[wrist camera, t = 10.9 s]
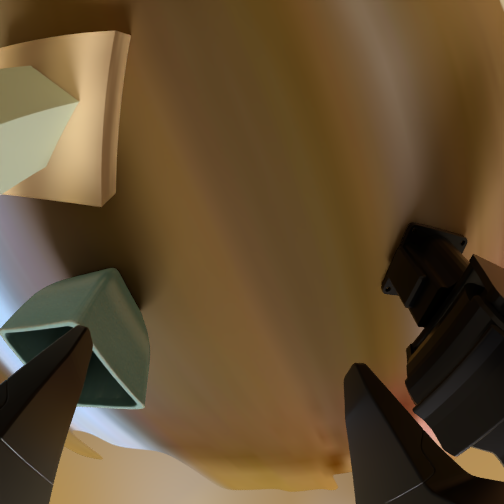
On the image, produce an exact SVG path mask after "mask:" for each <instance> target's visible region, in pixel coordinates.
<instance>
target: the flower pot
mask: <svg viewBox="0 0 504 504" xmlns="http://www.w3.org/2000/svg"><path fill="white" fill-rule="evenodd" d="M77 325H82V326H86V327H88V328H89V330H90V333H91V338H92V342H93V350H92V354H91V358H90V361H89V365H88V369H87V373H86V378H85V382H84V386H83V389H82V392H81V395H80V398H79V400H78V403H77V407H78V406H79V407H97V408H116V409H141V408H145V398H146V388H147V380H148V371H149V362H150V345H149V338H148V333H147V329H146V326H145V323H144V320H143V317H142V314H141V312H140V310H139V308H138V306H137V304H136V303H135V301H134V299H133V297H132V296H131V294H130V292H129V290H128V288H127V286H126V284H125V283H124V281H123V279H122V277H121V275H120V273H119V271H118V270H117V269H116V268H108V269H104V270H100V271H96V272H92V273H88V274H84V275H80V276H76V277H72V278H68V279H65V280H61V281H58V282H56V283H53V284H51V285H49V286H47V287H45V288H43V289H42V290H40V291H38V292H37V293H36V294H34V295H33V296H32V297H31V298H30V299H29V300H28V301H27V302H25V303H24V304H23V305H22V306H21V307H20V308H19V309H18V310H17V311H16V312H15V313H14V314H13V315H12V317H11V318H10V319H9V320H8V321H7V322H6V323H5V324H4V325H3V326H2V327H1V328H0V335H1V336H2V338H3V339H4V341H5V342H6V343H7V345H8V346H9V347H10V348H11V349H12V351H13V352H14V353H15V354H16V355H17V357H18V358H19V359H20V360H21V361H22V363H23V364H24V365H25V364H27V363H28V362H29V361H30V360H32V359H33V358H34V357H36V356H37V355H38V354H39V353H41V352H42V351H43V350H45V349H46V348H47V347H49V346H50V345H51V344H52V343H54V342H55V341H56V340H58V339H59V338H60V337H62V336H63V335H64V334H66V333H67V332H68V331H70V330H71V329H72V328H74V327H75V326H77Z"/></svg>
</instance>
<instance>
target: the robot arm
mask: <svg viewBox="0 0 504 504" xmlns="http://www.w3.org/2000/svg"><path fill="white" fill-rule="evenodd" d="M413 228H415V230H414V231H412V230H413ZM461 242H462V243H461ZM466 244H467V239H466V238H465V237H464V236H463V235H459V234H456V233H452V232H449V231H445V230H441V229H438V228H434V227H430V226H426V225H422V224H419V223H410V224H409V225H408V227H407V230H406V232H405V234H404V237H403V239H402V242H401V244H400V246H399V248H398V249H397V252H396V254H395V256H394V259H393V261H392V263H391V265H390V268H389V270H388V272H387V275H386V278H385V280H384V282H383V284H382V286H381V289H382V291H383V293H384V294H390V295H398V296H399V297H400V299H401V301H402V302H403V304H404V306H405V307H406V308H408V309H409V311H410V312H411V314H412V316H413V318H414V320H415V322H416V324H417V325H418V327H424V330H423V331H422V332H421V333H420V335H419V336H418V337H417V338H416V340H415V341H414V342H413V343H412V344H410V345H409V346H408V348H407V349H406V353H407V379H406V380H405V385H406V388H407V390H408V393H409V395H410V396H411V399H412V400H413V402H414V404H415V405H416V406H415V407H414V408H413V412H414V413H415V414H416V415H418V416H419V417H420V418H422V419H423V420H424V421H425V422H426V423H427V424H428V425H429V427H430V428H431V429H432V430H433V432H434V434H435V435H436V437H437V439H438V441H439V442H440V444H441V446H442V448H443V449H444V450H445V451H446V452H448V453H449V454H451V455H453V456H459V455H460V454H462V453H463V452H464V451H466V450H467V449H469V448H470V447H473V448H477V449H480V450H483V451H487V452H490V453H493V454H494V455H495V456H496V457H497V458H498V460H499V461H500V462H501V464H502V465H503V467H504V269H503V268H501V267H499V266H497V265H495V264H493V263H491V262H489V261H487V260H485V259H483V258H481V257H479V256H477V255H475V254H473V255H472V257H471V259H470V260H469V261H468V260H467V259H466V258H465V257H464V256H463V255H462V253H463V251H464V249H465V246H466ZM469 262H470V263H469ZM387 287H389V288H387ZM386 288H387V289H386ZM92 350H93V342H92V338H91V333H90V330H89V328H88V327H86V326H82V325H77V326H75V327H74V328H72V329H71V330H70V331H68V332H67V333H66V334H64V335H63V336H62V337H60V338H59V339H58V340H56V341H55V342H54V343H52V344H51V345H50V346H49V347H47V348H46V349H45V350H43V351H42V352H41V353H39V354H38V355H37V356H36V357H34V358H33V359H32V360H30V361H29V362H28V363H27V364H25V365H24V366H23V367H21V368H20V369H19V370H18V371H16V372H15V373H14V374H13V375H11V376H10V377H9V378H8V379H7V380H5V381H4V382H3V383H1V384H0V504H49V501H50V497H51V492H52V488H53V483H54V479H55V476H56V472H57V468H58V464H59V461H60V457H61V453H62V450H63V447H64V443H65V440H66V437H67V434H68V430H69V427H70V424H71V421H72V418H73V415H74V412H75V409H76V406H77V403H78V400H79V398H80V395H81V392H82V389H83V386H84V382H85V378H86V373H87V369H88V365H89V361H90V358H91V354H92ZM344 399H345V420H346V428H347V435H348V442H349V450H350V457H351V465H352V473H353V482H354V491H355V501H356V504H504V482H501V481H495V480H490V479H484V478H480V477H476V476H473V475H471V474H469V473H467V472H466V471H465V470H463V469H462V468H461V467H460V466H459V465H458V464H457V463H456V462H455V461H454V460H453V459H452V458H451V457H449V456H448V455H447V454H446V453H445V452H444V451H443V450H442V449H441V448H440V447H439V446H438V445H437V444H436V443H435V442H434V441H433V440H432V438H431V437H430V436H429V435H428V434H427V433H426V432H425V431H424V430H423V428H422V427H421V426H420V425H419V424H418V423H417V422H416V420H415V419H414V418H413V417H412V416H411V415H410V414H409V412H408V411H407V410H406V409H405V408H404V407H403V406H402V404H401V403H400V402H399V401H398V400H397V399H396V398H395V397H394V395H393V394H392V393H391V392H390V391H389V390H388V389H387V387H386V386H385V385H384V384H383V383H382V382H381V381H380V380H379V378H378V377H377V376H376V375H375V374H374V373H373V372H372V371H371V369H370V368H369V367H368V366H367V365H366V364H364V363H354V364H353V365H352V366H351V368H350V370H349V371H348V373H347V374H346V376H345V378H344Z"/></svg>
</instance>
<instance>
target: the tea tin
mask: <svg viewBox="0 0 504 504" xmlns="http://www.w3.org/2000/svg"><path fill="white" fill-rule="evenodd" d="M78 103H79V101H78V100H76V99H75V98H74V97H72V96H71V95H70V94H68V93H67V92H66V91H64V90H63V89H62V88H60V87H59V86H58V85H56V84H55V83H54V82H52V81H51V80H50V79H48V78H47V77H45V76H44V75H43V74H41V73H40V72H39V71H37V70H36V69H35V68H33V67H32V66H21V67H11V68H3V69H0V195H2V194H3V193H5V192H6V191H8V190H9V189H11V188H12V187H14V186H15V185H17V184H18V183H20V182H22V181H23V180H25V179H26V178H28V177H30V176H31V175H33V174H35V173H36V172H38V171H40V170H41V169H43V168H45V167H46V166H47V164H48V162H49V160H50V157H51V155H52V153H53V151H54V149H55V147H56V145H57V142H58V140H59V138H60V136H61V134H62V132H63V130H64V129H65V127H66V125H67V123H68V121H69V119H70V117H71V115H72V114H73V112H74V110H75V108H76V106H77V105H78Z"/></svg>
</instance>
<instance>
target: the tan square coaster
mask: <svg viewBox="0 0 504 504" xmlns="http://www.w3.org/2000/svg"><path fill="white" fill-rule="evenodd" d="M130 38H131V35H128V34H125V33H122V32H118V31H100V32H88V33H79V34H70V35H63V36H56V37H50V38H44V39H38V40H33V41H28V42H23V43H19V44H14V45H10V46H6V47H2V48H0V69H3V68H11V67H21V66H32V67H33V68H35V69H36V70H37V71H39V72H40V73H41V74H43V75H44V76H45V77H47V78H48V79H50V80H51V81H52V82H54V83H55V84H56V85H58V86H59V87H60V88H62V89H63V90H64V91H66V92H67V93H68V94H70V95H71V96H72V97H74V98H75V99H76V100H78V101H79V103H78V105H77V106H76V108H75V110H74V112H73V114H72V115H71V117H70V119H69V121H68V123H67V125H66V127H65V129H64V130H63V132H62V134H61V136H60V138H59V140H58V142H57V145H56V147H55V149H54V151H53V153H52V155H51V157H50V160H49V162H48V164H47V166H46V167H45V168H43V169H41V170H40V171H38V172H36V173H35V174H33V175H31V176H30V177H28V178H26V179H25V180H23V181H22V182H20V183H18V184H17V185H15V186H14V187H12V188H11V189H9V190H8V191H6V192H5V193H3V194H6V195H14V196H22V197H30V198H38V199H46V200H53V201H61V202H68V203H76V204H83V205H90V206H97V207H102V206H103V205H104V204H105V203H106V202H107V201H108V200H109V199H110V198H111V197H112V196H113V195H114V194H115V193H116V167H117V146H118V131H119V119H120V108H121V99H122V90H123V82H124V75H125V68H126V61H127V55H128V49H129V43H130Z"/></svg>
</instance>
